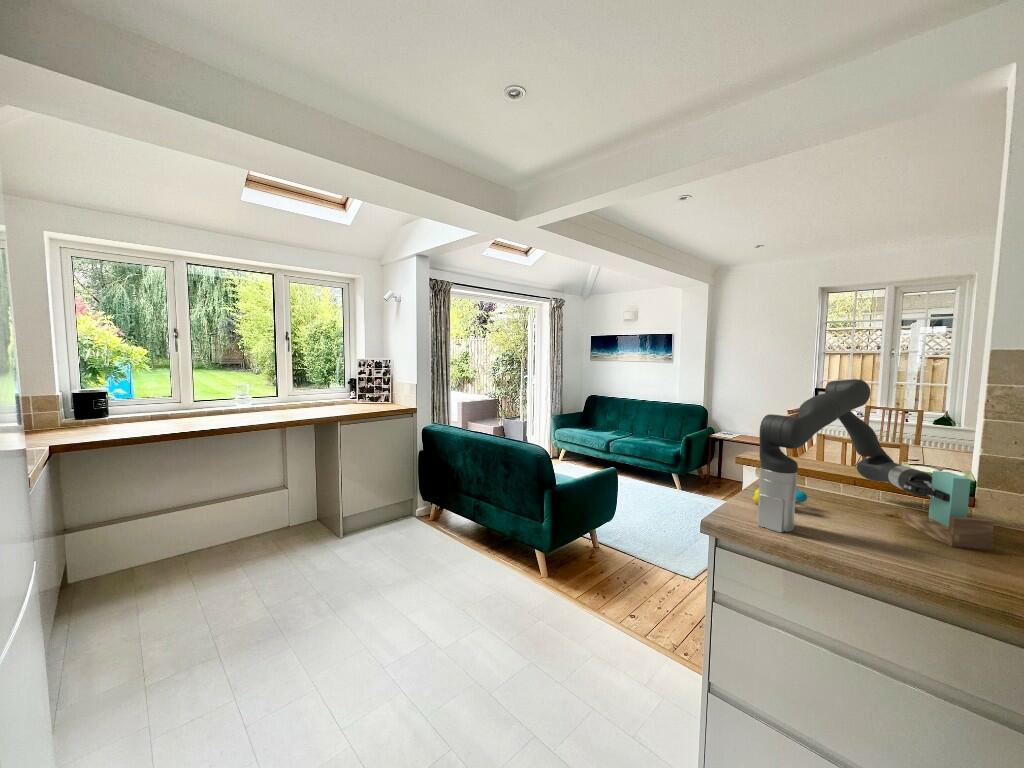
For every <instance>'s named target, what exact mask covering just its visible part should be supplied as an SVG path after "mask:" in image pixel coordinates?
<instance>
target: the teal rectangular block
mask: <svg viewBox="0 0 1024 768" xmlns="http://www.w3.org/2000/svg"><path fill="white" fill-rule="evenodd" d="M931 476H932V487H933V488H936V489H937V490H940V491H942V492H945V493H948V494H949V495H950V500H949V502H947V501H943V500H941V499H938V498H933V497H930V496H929V497H930V499H929V506H928V509H929V510H928V518H929V519H930V518H931V519H933V520H935V521H937V522H939V523H941V524H943V525H945V526H948V527H949V517H950V516H953V517H966V518H968V511H969V503H968V501H969V502H970V499H969V496H970V490H971V480H972V479H971V478H968V477H965V476H963V475H959V474H956V473H953V472H951V471H942V470H941V471H939V470H933V471H932V475H931Z"/></svg>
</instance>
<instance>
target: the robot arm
mask: <svg viewBox="0 0 1024 768" xmlns="http://www.w3.org/2000/svg"><path fill="white" fill-rule="evenodd" d="M824 388H825V389H824V393H820V394H817V395H815V396H812V397H810V398H809V399H807V400H805V401H804V402H803V403H802V404H800V406H799V409H798V416H789V415H780V414H766V415H765V416H764V417H763V418H762V419H761V422H760V425H759V461H760V469H759V471H760V472H759V482H758V483H759V485H758V487H759V488H758V489H759V499H758V504H757V515H756V516H757V518H756V523H757V526H758V527H761V528H764V527H765V528H764V529H767V530H772V531H774V532H778V533H784V531H785V533H787V532H788V533H789V532H792V531H794V530H795V529H794V528H795V512H796V511H795V509H796V500H795V499H796V488H797V482H798V481H797V480H798V467H799V464H798V462H797V461H796V460H795V459H793V458H791V457H790V456H789V455H786V454H785V453H784V452H783V451H782V450H781V448H785V449H790V450H791V449H792V450H793V449H799V448H801V447H803V446H804V445H805V444H806V443H807V442H808V441H810V439H811V438H812V437H813V436H814V435H815V434H817V433H818V432H820V431H821V430H822V429H824V428H825V427H827V426H829V425H830V424H832V423H833V422H835V421H837V419H838V420H839V421H840V423H841V424H842V425H843V427H844V428H845V430H846V431H847V433H848V435H849V437H850V440H851V442H852V444H853V446H854V449H855V451H856V453H857V455H859V456H861V457H862V458H863V457H864V459H862V460H859V461H858V462H857V463H856V471H857V472H858V474H860V476H862V478H863V477H864V479H866V480H869V481H874V482H881V483H882V482H883V483H889V484H890V485H893V486H895V487H897V488H899V489H900V490H902V491H905V492H907V493H909V494H912V495H914V496H918V497H933V498H938V499H941V500H943V501H947V502H949V500H950V495H949V494H948V493H945V492H942V491H940V490H937V489H936V488H933V487H932V475H931V474H929V473H926V472H924V471H921V470H918V469H915V468H914V467H913V468H912V467H910V466H905V465H902V464H899V463H897V462H895V461H894V460H893V459H892V457H890V456H889V455H888V454H887V452H886V451H885V450H884V448H883V447H882V446H881V443H880V441H879V439H878V436H877V435H876V432H875V430H874V429H873V428H872V427H871V426H870V425H869V424H868V423H866V422H865V421H863V420H862V419H861V418H860V417H858V416H857V415H856V414H855V413H854V412H853V410H856V409H857V408H861V407H862V406H864V405H866V404H867V403H868V401H869V399H870V397H871V388H870V385H869V384H868V383H867V382H866V381H865V380H863V379H856V378H855V379H854V378H852V379H839V380H838V379H837V380H831V381H829V382H828V383H827V384H826V385H825V387H824ZM970 498H971V496H970V495H969V501H968V504H969V503H970Z"/></svg>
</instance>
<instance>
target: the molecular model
mask: <svg viewBox="0 0 1024 768" xmlns="http://www.w3.org/2000/svg"><path fill="white" fill-rule="evenodd" d="M758 499H759V488H757V489H756V490H755V491H754V495H753V502H754V504H756V505H758ZM807 499H808V496H807V494H806V492H804V491H803V490H799V489H798V488H797V487H796V499H795V502H798V503H804V502H806V501H807Z"/></svg>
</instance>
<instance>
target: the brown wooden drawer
mask: <svg viewBox="0 0 1024 768" xmlns="http://www.w3.org/2000/svg"><path fill="white" fill-rule="evenodd" d="M901 522H903V524H906V525H909V526H910V527H912V528H914V529H916V530H918V531H920V532H922V533H923V534H925V535H927V536H929V537H931V538H933V539H935V540H937V541H939V542H941V543H943V544H944V543H945V545H946V544H947V545H946V546H948V545H949V547H950V546H951V548H955V547H958V548H957V549H966V548H968V549H969V550H970V549H971V550H978V551H979V550H980V551H989V550H991V551H992V549H993V548H992V547H993V539H994V529H995V520H992V519H990V518H989V519H988V518H977V517H967V518H966V517H953V516H950V517H949V527H948V526H945V525H943V524H941V523H939V522H937V521H935V520H933V519H931V518H929V519H926V518H924V517H922V516H920V515H918V514H916V513H913V512H911V511H909V510H903V517H902V518H901Z"/></svg>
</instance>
